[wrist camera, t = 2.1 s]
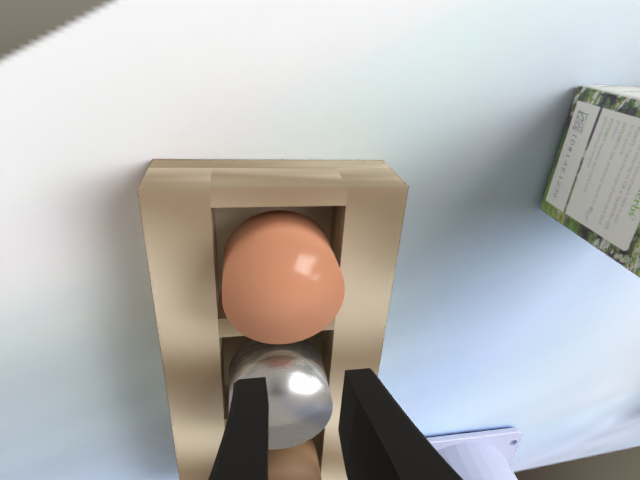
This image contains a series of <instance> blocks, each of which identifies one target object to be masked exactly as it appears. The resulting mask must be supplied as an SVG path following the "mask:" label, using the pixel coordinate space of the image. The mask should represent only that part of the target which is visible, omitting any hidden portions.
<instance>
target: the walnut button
mask: <svg viewBox="0 0 640 480" xmlns="http://www.w3.org/2000/svg"><path fill="white" fill-rule="evenodd" d="M268 480H322V479H321V473H320V468H319V463H318V457H317V452H316V447H315V442H314V439H313V438H312V439H310V440H308V441H306V442H304V443H302V444H300V445H297V446H294V447H290V448H285V449H276V450H269V453H268Z"/></svg>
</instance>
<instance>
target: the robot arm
mask: <svg viewBox="0 0 640 480" xmlns="http://www.w3.org/2000/svg"><path fill="white" fill-rule="evenodd" d="M338 432H339V438H340V443H341V449H342V455H343V460H344V465H345V470H346V475H347V479H348V480H518V479H517V478H516V476H515V475H514V473H513V471H512V469H511V468H510V464H511V462H512V459H513V457H514V455H515V452H516V450H517V447H518V445H519V442H520V440H521V437H522V433H521V431H520V430H519V428H505V429H497V430H488V431H480V432H472V433H463V434H455V435H446V436H438V437H429V438H426V437H425V436H424V435H423V434H422V433H421V432H420V430H419V429H418V428H417V427H416V426H415V424H414V423H413V422H412V421H411V420H410V418H409V417H408V416H407V415H406V413H405V412H404V411H403V410H402V408H401V407H400V406H399V405H398V403H397V402H396V401H395V399H394V398H393V397H392V395H391V394H390V393H389V392H388V390H387V389H386V388H385V386H384V385H383V384H382V382H381V381H380V379H379V378H378V377H377V375H376V374H375V373H374V371H373V370H371V369H370V368H365V369H353V370H345V374H344V383H343V391H342V400H341V409H340V418H339V426H338ZM268 453H269V402H268V393H267V385H266V377H259V378H248V379H238V380H237V381H236V382H235V383H234V384H233V395H232V401H231V406H230V411H229V415H228V419H227V423H226V426H225V430H224V434H223V437H222V440H221V443H220V446H219V449H218V452H217V456H216V459H215V462H214V465H213V468H212V471H211V473H210V476H209V479H208V480H268Z"/></svg>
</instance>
